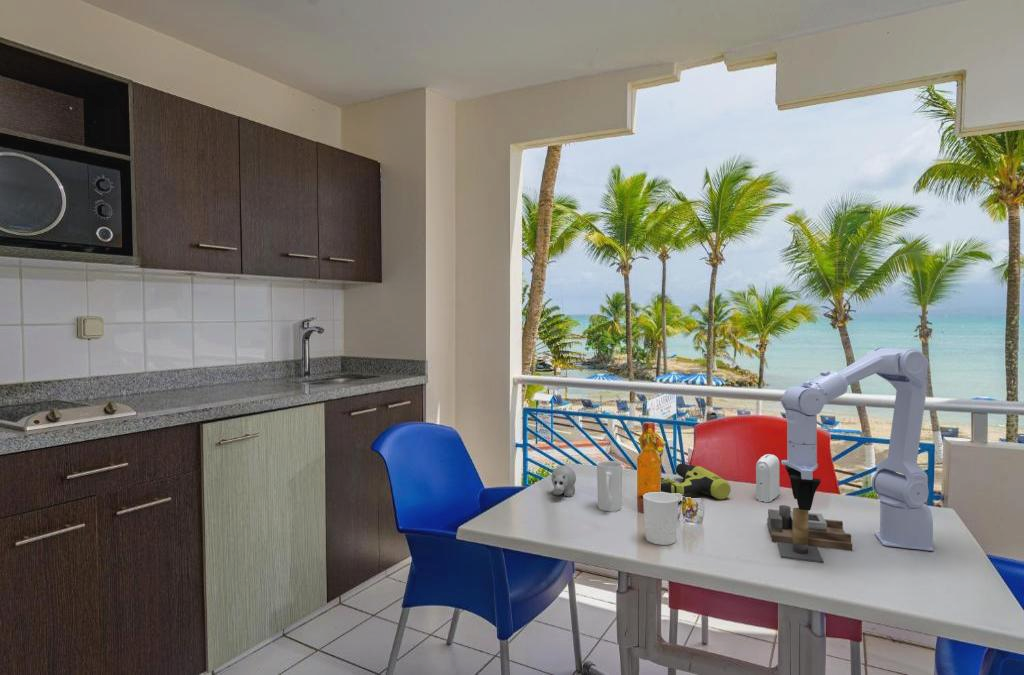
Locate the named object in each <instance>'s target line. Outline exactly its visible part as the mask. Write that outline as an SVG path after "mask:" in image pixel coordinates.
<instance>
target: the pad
mask: <svg viewBox="0 0 1024 675" xmlns="http://www.w3.org/2000/svg"><path fill="white" fill-rule="evenodd" d="M776 545H777V548H778V552H779V556H780V558H781V559H788V560H796V561H797V560H799V561H806V562H813V563H821V564H824V559H823V556H822V554H821V552H820V549H819V547H816V546H808V553H807V554H799V553H796V552H794V551H793V544H790V543H781V542H776Z"/></svg>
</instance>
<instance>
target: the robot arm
mask: <svg viewBox="0 0 1024 675" xmlns="http://www.w3.org/2000/svg"><path fill="white" fill-rule="evenodd" d="M929 363H930V362H929V359H928V358H927V357H926V356H925V355H924V353H923V352H922V351H921V350H919V349H917V348H894V347H893V348H891V347H890V348H889V347H882V346H879V347H876V348H874V349H872V350H869V351H866V353H865V355H864V356H862V357H860V358H859V359H858V360H856V361H855V362H854V361H853V363H850V365H848V366H846V367H844V368H842V370H840V371H835V370H822V371H820V373H819V374H820V375H818V376H816V377H814V378H812V379H810V380H805V381H803V382H802V384H801V385H800V386H796V385H795V386H790V387H788V388H787V389H786V391H785V392H784V393H783V396H782V398H780V403H781V407H782V408H783V409H784V410H785V411H784V412H785V417H786V421H787V422H786V423H787V424H786V426H787V427H786V428H787V430H786V433H787V434H786V438H787V441H786V445H787V446H786V448H787V450H786V451H787V452H786V454H787V456H786V458H787V459H781V461H780V462H781V465H782V466H784V468H785V470H786V472H787V474H788V478H789V481H790V486H791V492H792V495H793V499H794V500H796V502H797V506H798V507H797V508H799V509H800V510H808V512H809V511H811V510H812V506H813V502H814V497H815V494H816V491H817V489H818V487H819V486H820V484H821V482H822V480H821V478H816V477H813V472H814V471H816V470H817V469H818V468H819V467H818V466H819V464H818V458H817V457H818V450H817V449H818V440H817V439H818V438H817V437H818V426H817V425H818V416H817V415H818V414H820V413H822V410H823V408H824V406H825V405H826V404H827V403H830V402H831V401H833V400H835V399H837V398H839V397H841V396H843V395H845V394H846V393H847V391H848V386H850V385H852V384H855V383H858V382H860V381H862V380H864V379H865V378H869V377H871V376H873V375H875V374H876V376H878V377H880V378H882V379H883V380H884V381H887V382H888V383H890V385H891V386H892V387H893V388H894V389H895V392H896V393H895V400H894V406H893V407H894V409H893V415H892V422H891V430H890V438H889V445H888V446H889V447H888V451H887V457H886V458H885V459H883V460H881V461H879V462H878V463H877V465H876V466H877V467H876V471H875V472H874V474H873V476H872V479H871V486H872V490H873V491H874V493H875V494H877V499H878V500H880V501H879V531H874V532H873V533H874V535H875V536H876V538H877V539H878V540H879V542H880V543H881V544H882V546H885V547H893V548H903V549H910V550H911V549H912V550H918V551H919V550H921V551H929V552H930V551H931V552H934V551H935V550H934V544H933V543H934V539H933V538H934V520H933V513H932V510H931V508H930V507H929V506H927V505H925V503H926V502H927V500H928V498H929V492H930V491H929V486H928V474H927V473H926V471H924V469H923V468H922V467H921V466H920V465H919V464H918V456H919V448H920V443H921V442H920V441H921V436H922V435H921V434H922V428H923V419H924V413H925V405H926V396H927V389H928V388H927V387H928V381H927V377H928V369H929Z"/></svg>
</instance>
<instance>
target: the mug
mask: <svg viewBox="0 0 1024 675" xmlns="http://www.w3.org/2000/svg"><path fill="white" fill-rule="evenodd" d="M596 480H597V481H596V482H597V485H596V486H597V508H598V510H601V511H604V512H618V511H620V510H621V509H622V500H623V499H622V497H623V496H622V494H623V464H622V463H621V462H619V461H614V460H603V461H598V462H597V463H596Z"/></svg>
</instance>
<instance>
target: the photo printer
mask: <svg viewBox="0 0 1024 675" xmlns="http://www.w3.org/2000/svg"><path fill="white" fill-rule="evenodd" d="M779 495H780V460H779V458H778V457H777V456H776V455H774V454H770V453H768V454H764V455H763V456H761V457H760V458H759V459H758V460H757V462H756V465H755V499H756V500H757V499H758V500H760V501H766V502H768V503H770V502H772V501H774V500H775V499H776V498H777V497H779ZM773 499H774V500H773ZM758 500H757V501H758ZM760 501H759V502H760Z"/></svg>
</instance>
